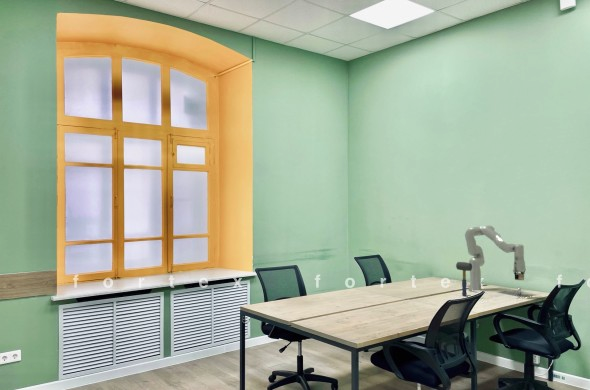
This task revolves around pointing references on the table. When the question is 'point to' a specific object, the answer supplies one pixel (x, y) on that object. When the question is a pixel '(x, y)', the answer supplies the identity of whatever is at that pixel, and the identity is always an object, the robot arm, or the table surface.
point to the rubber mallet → (464, 274)
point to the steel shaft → (519, 291)
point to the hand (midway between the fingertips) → (519, 278)
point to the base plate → (512, 293)
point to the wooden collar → (520, 276)
